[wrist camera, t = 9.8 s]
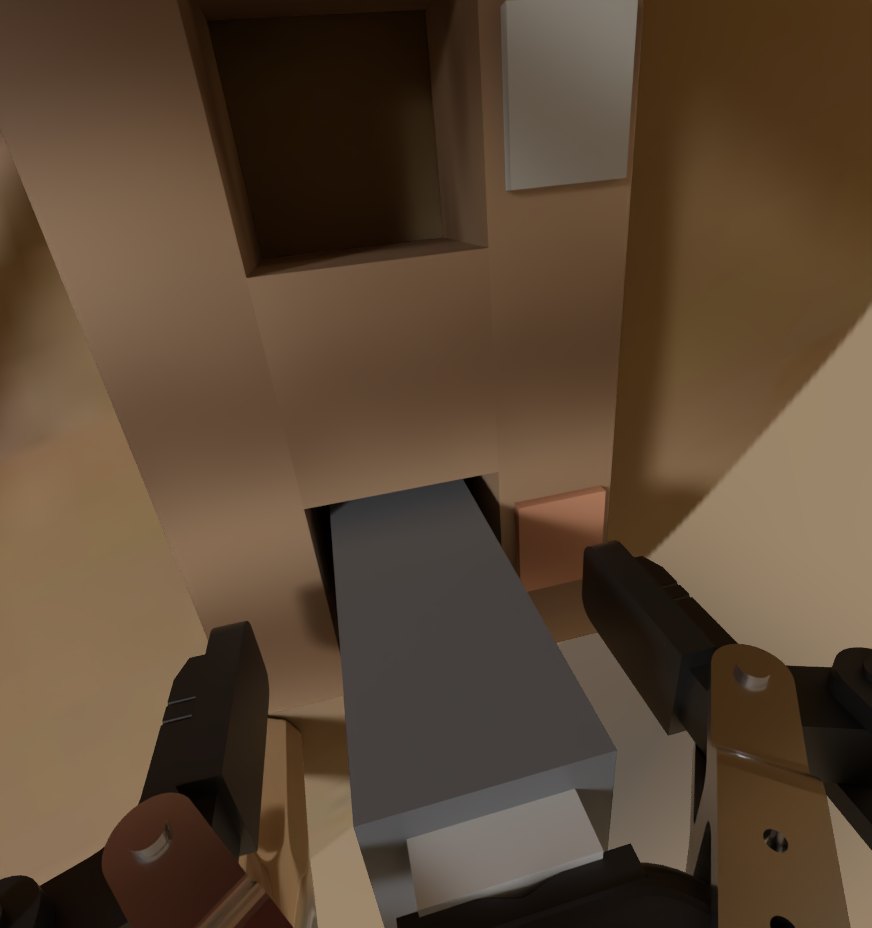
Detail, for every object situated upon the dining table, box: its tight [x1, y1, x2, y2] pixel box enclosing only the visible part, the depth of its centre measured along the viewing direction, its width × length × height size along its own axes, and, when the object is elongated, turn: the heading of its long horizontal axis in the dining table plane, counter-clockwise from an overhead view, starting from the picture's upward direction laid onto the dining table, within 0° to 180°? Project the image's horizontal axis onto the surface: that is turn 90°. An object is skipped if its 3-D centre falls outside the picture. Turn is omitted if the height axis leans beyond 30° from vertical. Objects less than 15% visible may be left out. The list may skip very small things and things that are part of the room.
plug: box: [329, 479, 617, 928], centre depth 12 cm, size 4×4×12 cm
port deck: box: [0, 0, 644, 714], centre depth 13 cm, size 18×11×4 cm, turn 6°
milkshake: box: [239, 718, 318, 928], centre depth 16 cm, size 5×5×10 cm
